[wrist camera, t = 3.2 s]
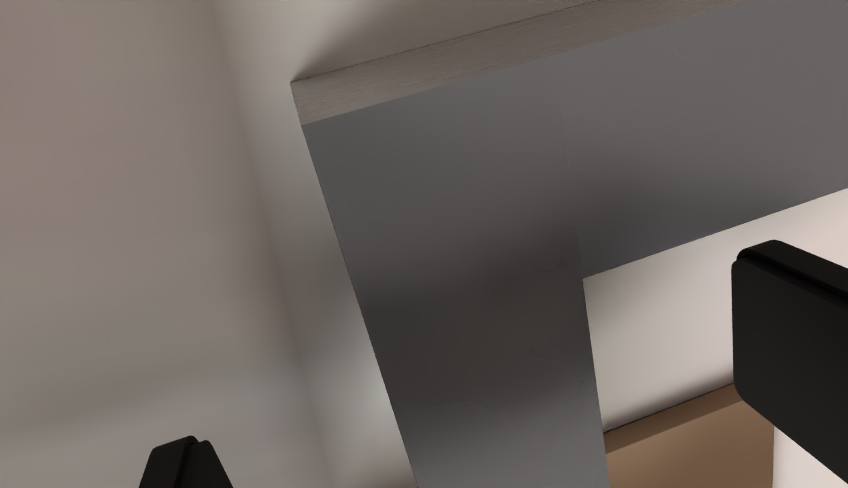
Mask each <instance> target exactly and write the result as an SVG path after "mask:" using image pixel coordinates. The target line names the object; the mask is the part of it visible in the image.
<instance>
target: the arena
mask: <svg viewBox="0 0 848 488" xmlns="http://www.w3.org/2000/svg"><path fill="white" fill-rule="evenodd" d="M603 438H604V445H605V453H606V460H607V468H608V475H609V483H610V488H772V484H773V444H774V425H773V424H772V423H771V422H769V421H768V420H767V419H765V418H764V417H763V416H762V415H760V414H759V413H758V412H757V411H755V410H754V409H753V408H752V407H750V406H749V405H748V404H747V403H745V402H744V401H743V400H742V399H741V397H740V396H739V394H738V393H737V391H736V389H735V386H734V384H731V385H728V386H726V387H723V388H721V389H718V390H715V391H713V392H710V393H708V394H705V395H703V396H700V397H697V398H695V399H692V400H690V401H687V402H684V403H682V404H679V405H677V406H674V407H672V408H669V409H666V410H664V411H661V412H659V413H656V414H654V415H651V416H648V417H646V418H643V419H641V420H638V421H635V422H633V423H630V424H628V425H625V426H623V427H620V428H617V429H615V430H612V431H610V432H607V433H604V434H603Z"/></svg>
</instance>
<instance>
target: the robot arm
mask: <svg viewBox="0 0 848 488" xmlns="http://www.w3.org/2000/svg"><path fill="white" fill-rule="evenodd" d="M731 281H732V329H733V377H734V386H735V389H736V391H737V393H738V394H739V396H740V397H741V399H742V400H743V401H744V402H745V403H747V404H748V405H749V406H750V407H752V408H753V409H754V410H755V411H757V412H758V413H759V414H760V415H762V416H763V417H764V418H765V419H767V420H768V421H769V422H771V423H772V424H773V425H774V426H776V427H777V428H778V429H779V430H781V431H782V432H783V433H784V434H786V435H787V436H788V437H789V438H791V439H792V440H793V441H794V442H796V443H797V444H798V445H799V446H801V447H802V448H803V449H804V450H806V451H807V452H808V453H810V454H811V455H812V456H813V457H815V458H816V459H817V460H818V461H820V462H821V463H822V464H823V465H825V466H826V467H827V468H828V469H830V470H831V471H832V472H833V473H835V474H836V475H837V476H838V477H840V478H841V479H842V480H843V481H845V482H846V483H847V484H848V268H845V267H843V266H840V265H838V264H835V263H833V262H831V261H828V260H826V259H823V258H821V257H818V256H816V255H813V254H811V253H809V252H806V251H804V250H801V249H799V248H796V247H794V246H791V245H789V244H786V243H784V242H782V241H778V240H769V241H766V242H763V243H760V244H757V245H754V246H751V247H748V248H745V249H743V250H742V251H740V252H739V254H738V256H737V260H736V261H735V262H733V264H732V268H731ZM139 488H233V486H232V484H231V482H230V480H229V478H228V476H227V474H226V472H225V470H224V468H223V466H222V464H221V462H220V460H219V458H218V456H217V454H216V452H215V450H214V448H213V446H212V445H211V443H210V442H209V441H207V440H204V441H202V442H198V440H197V439H196V438H195V437H194V436H187V437H184V438H181V439H178V440H175V441H172V442H169V443H166V444H164V445H161V446H158V447H155V448H154V449H153V450H152V452H151V453H150V456H149V459H148V462H147V465H146V468H145V471H144V474H143V477H142V479H141V482H140V485H139Z"/></svg>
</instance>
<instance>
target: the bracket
mask: <svg viewBox="0 0 848 488" xmlns="http://www.w3.org/2000/svg"><path fill="white" fill-rule="evenodd" d="M290 85H291V89H292V93H293V97H294V100H295V104H296V108H297V112H298V116H299V119H300V123H301V127H302V130H303V133H304V136H305V139H306V142H307V145H308V148H309V151H310V155H311V158H312V161H313V164H314V167H315V170H316V173H317V176H318V179H319V182H320V186H321V189H322V192H323V195H324V198H325V201H326V204H327V207H328V210H329V213H330V217H331V220H332V223H333V226H334V229H335V232H336V235H337V238H338V241H339V244H340V248H341V251H342V254H343V257H344V260H345V263H346V266H347V269H348V272H349V275H350V278H351V282H352V285H353V288H354V291H355V294H356V297H357V300H358V303H359V306H360V309H361V313H362V316H363V319H364V322H365V325H366V328H367V331H368V334H369V337H370V340H371V344H372V347H373V350H374V353H375V356H376V359H377V362H378V365H379V368H380V371H381V375H382V378H383V381H384V384H385V387H386V390H387V393H388V396H389V399H390V402H391V405H392V409H393V412H394V415H395V418H396V421H397V424H398V427H399V430H400V433H401V436H402V440H403V443H404V446H405V449H406V452H407V455H408V458H409V461H410V464H411V467H412V471H413V474H414V477H415V480H416V483H417V486H418V488H610V483H609V475H608V468H607V460H606V453H605V445H604V438H603V430H602V423H601V415H600V408H599V400H598V393H597V386H596V378H595V371H594V363H593V356H592V348H591V341H590V333H589V326H588V318H587V311H586V303H585V296H584V288H583V281H582V279H583V278H586V277H589V276H592V275H594V274H597V273H600V272H603V271H606V270H609V269H612V268H615V267H618V266H621V265H624V264H627V263H630V262H632V261H635V260H638V259H641V258H644V257H647V256H650V255H653V254H656V253H659V252H662V251H665V250H667V249H670V248H673V247H676V246H679V245H682V244H685V243H688V242H691V241H694V240H697V239H700V238H703V237H705V236H708V235H711V234H714V233H717V232H720V231H723V230H726V229H729V228H732V227H735V226H738V225H740V224H743V223H746V222H749V221H752V220H755V219H758V218H761V217H764V216H767V215H770V214H773V213H775V212H778V211H781V210H784V209H787V208H790V207H793V206H796V205H799V204H802V203H805V202H808V201H811V200H813V199H816V198H819V197H822V196H825V195H828V194H831V193H834V192H837V191H840V190H843V189H846V188H848V0H597V1H593V2H589V3H586V4H582V5H578V6H575V7H571V8H567V9H563V10H560V11H556V12H552V13H548V14H545V15H541V16H537V17H533V18H530V19H526V20H522V21H518V22H515V23H511V24H507V25H504V26H500V27H496V28H492V29H489V30H485V31H481V32H477V33H474V34H470V35H466V36H462V37H459V38H455V39H451V40H448V41H444V42H440V43H436V44H433V45H429V46H425V47H421V48H418V49H414V50H410V51H406V52H403V53H399V54H395V55H391V56H388V57H384V58H380V59H377V60H373V61H369V62H365V63H362V64H358V65H354V66H350V67H347V68H343V69H339V70H335V71H332V72H328V73H324V74H321V75H317V76H313V77H309V78H306V79H302V80H298V81H294V82H291V83H290Z"/></svg>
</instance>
